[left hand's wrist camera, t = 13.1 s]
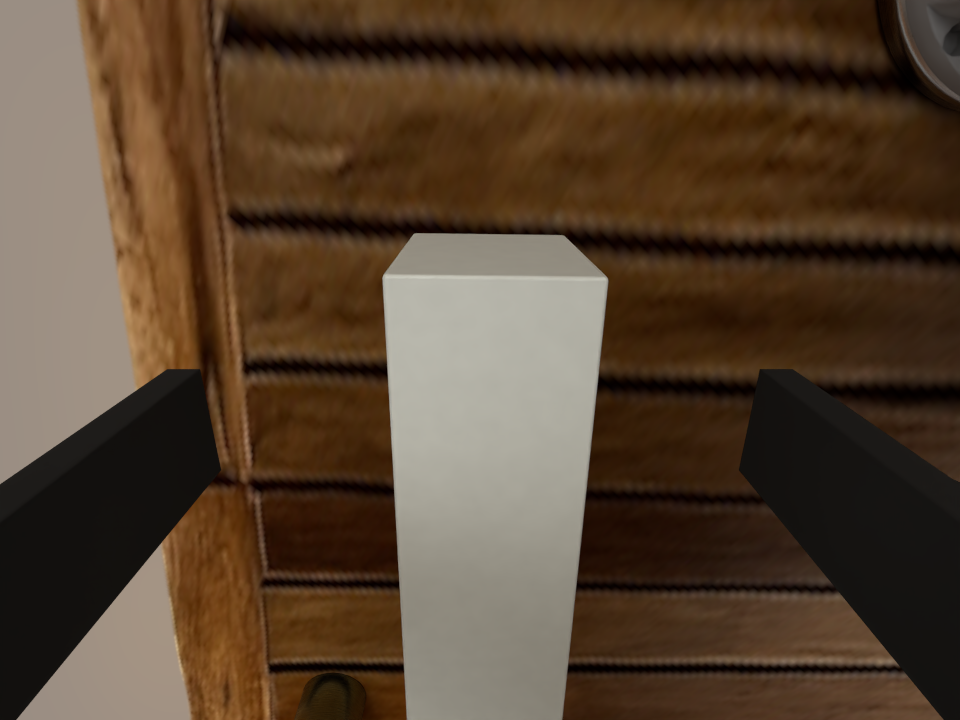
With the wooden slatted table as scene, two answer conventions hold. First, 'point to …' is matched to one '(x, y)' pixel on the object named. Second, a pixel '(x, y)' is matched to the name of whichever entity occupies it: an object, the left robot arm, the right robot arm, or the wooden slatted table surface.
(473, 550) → the bar
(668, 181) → the wooden slatted table surface
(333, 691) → the sage tin
